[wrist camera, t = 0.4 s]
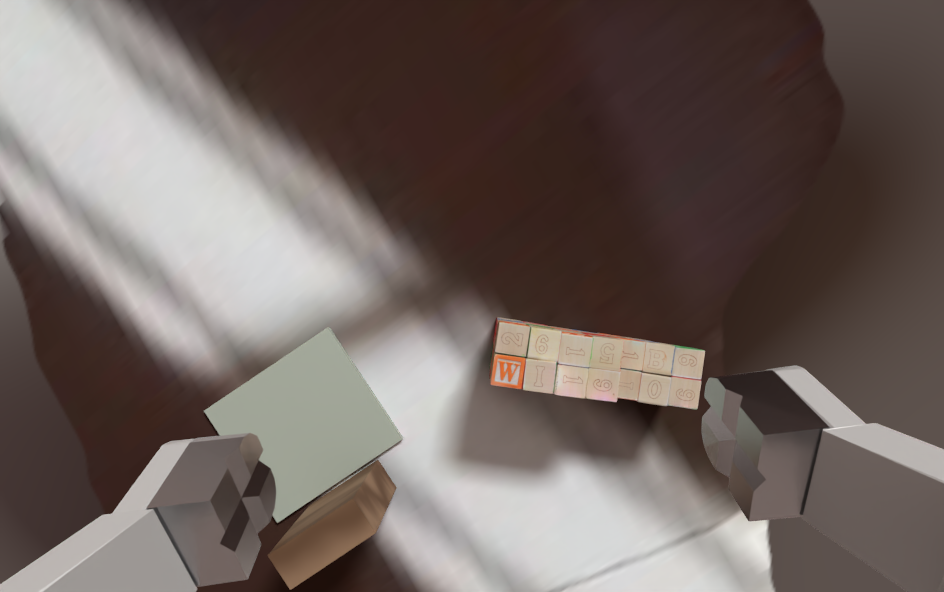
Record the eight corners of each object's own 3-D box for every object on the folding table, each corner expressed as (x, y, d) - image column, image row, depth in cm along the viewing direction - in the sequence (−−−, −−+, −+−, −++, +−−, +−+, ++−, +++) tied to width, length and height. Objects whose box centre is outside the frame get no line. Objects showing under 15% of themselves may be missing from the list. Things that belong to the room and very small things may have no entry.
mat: (403, 437, 61) (402, 439, 61) (279, 520, 62) (277, 522, 61) (329, 327, 62) (327, 327, 61) (206, 409, 62) (203, 411, 61)
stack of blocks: (672, 342, 61) (721, 353, 49) (665, 395, 61) (711, 419, 49) (495, 316, 61) (498, 320, 49) (487, 368, 61) (489, 385, 49)
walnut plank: (396, 487, 61) (375, 532, 49) (327, 533, 61) (290, 590, 49) (377, 459, 61) (352, 498, 49) (309, 505, 62) (267, 555, 50)
